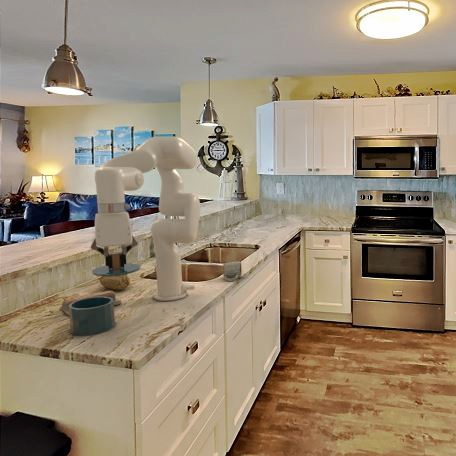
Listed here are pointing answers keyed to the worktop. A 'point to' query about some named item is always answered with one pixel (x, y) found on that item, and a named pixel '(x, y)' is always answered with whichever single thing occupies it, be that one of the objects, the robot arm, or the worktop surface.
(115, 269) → the crock lid
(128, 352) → the worktop surface
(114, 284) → the brown rounded lump
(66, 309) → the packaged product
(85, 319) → the crock
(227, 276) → the ceramic mug
